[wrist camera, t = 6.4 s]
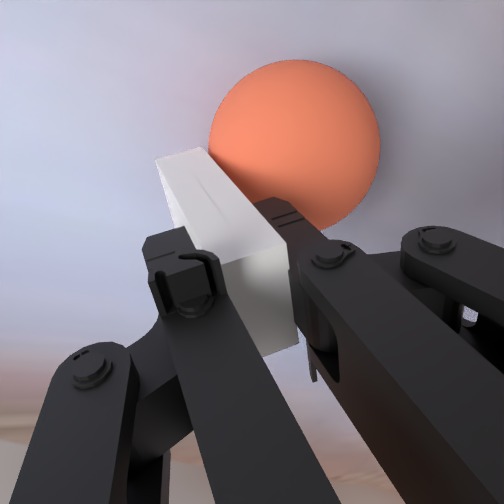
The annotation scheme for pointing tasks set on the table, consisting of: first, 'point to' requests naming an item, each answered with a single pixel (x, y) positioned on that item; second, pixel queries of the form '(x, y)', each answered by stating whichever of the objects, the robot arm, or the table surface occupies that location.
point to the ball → (298, 139)
